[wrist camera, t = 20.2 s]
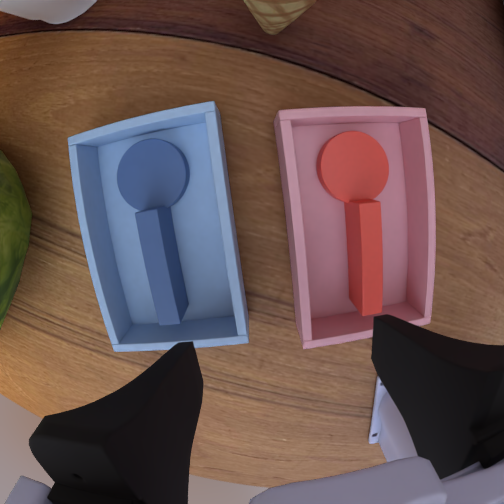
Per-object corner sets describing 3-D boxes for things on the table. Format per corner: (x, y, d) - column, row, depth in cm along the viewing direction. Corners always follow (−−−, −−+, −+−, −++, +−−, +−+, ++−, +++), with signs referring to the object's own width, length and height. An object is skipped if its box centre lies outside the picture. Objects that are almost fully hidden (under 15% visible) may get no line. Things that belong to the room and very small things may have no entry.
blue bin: (248, 318, 22) (248, 343, 19) (130, 328, 22) (114, 352, 19) (220, 112, 19) (214, 100, 15) (92, 141, 19) (67, 137, 15)
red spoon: (386, 292, 21) (404, 308, 18) (327, 302, 21) (338, 321, 18) (377, 132, 18) (397, 126, 16) (311, 135, 19) (322, 128, 16)
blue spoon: (211, 302, 21) (206, 321, 18) (149, 308, 21) (136, 327, 18) (185, 133, 18) (174, 127, 16) (119, 148, 19) (99, 145, 16)
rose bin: (409, 304, 22) (430, 323, 19) (295, 324, 22) (303, 349, 19) (401, 115, 19) (425, 108, 15) (273, 120, 19) (278, 109, 15)
